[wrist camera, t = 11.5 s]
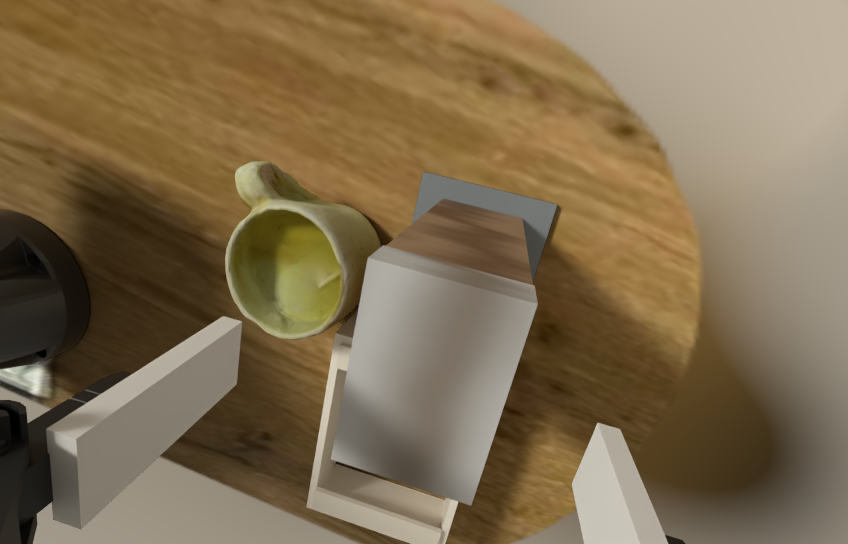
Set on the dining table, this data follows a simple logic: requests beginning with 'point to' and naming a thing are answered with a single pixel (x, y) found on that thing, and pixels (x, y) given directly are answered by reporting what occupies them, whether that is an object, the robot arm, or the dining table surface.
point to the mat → (491, 208)
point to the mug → (295, 255)
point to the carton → (368, 476)
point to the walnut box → (436, 349)
